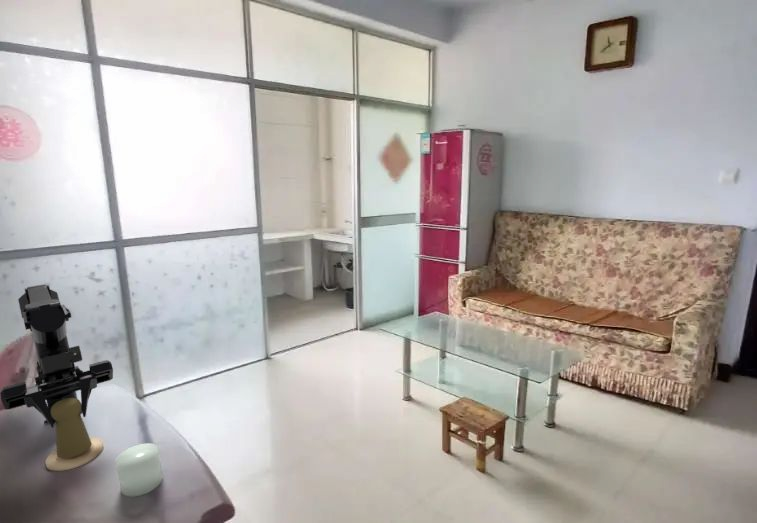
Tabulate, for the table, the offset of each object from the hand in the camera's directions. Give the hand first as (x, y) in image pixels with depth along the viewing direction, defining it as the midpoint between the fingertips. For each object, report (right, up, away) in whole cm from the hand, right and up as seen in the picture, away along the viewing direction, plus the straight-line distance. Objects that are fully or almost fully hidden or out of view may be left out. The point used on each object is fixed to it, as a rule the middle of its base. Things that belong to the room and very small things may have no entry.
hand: (68, 421), depth 88 cm
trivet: (-1, -8, +3) cm, 8 cm away
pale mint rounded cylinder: (+18, -9, -6) cm, 21 cm away
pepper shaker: (-1, -7, +3) cm, 7 cm away
